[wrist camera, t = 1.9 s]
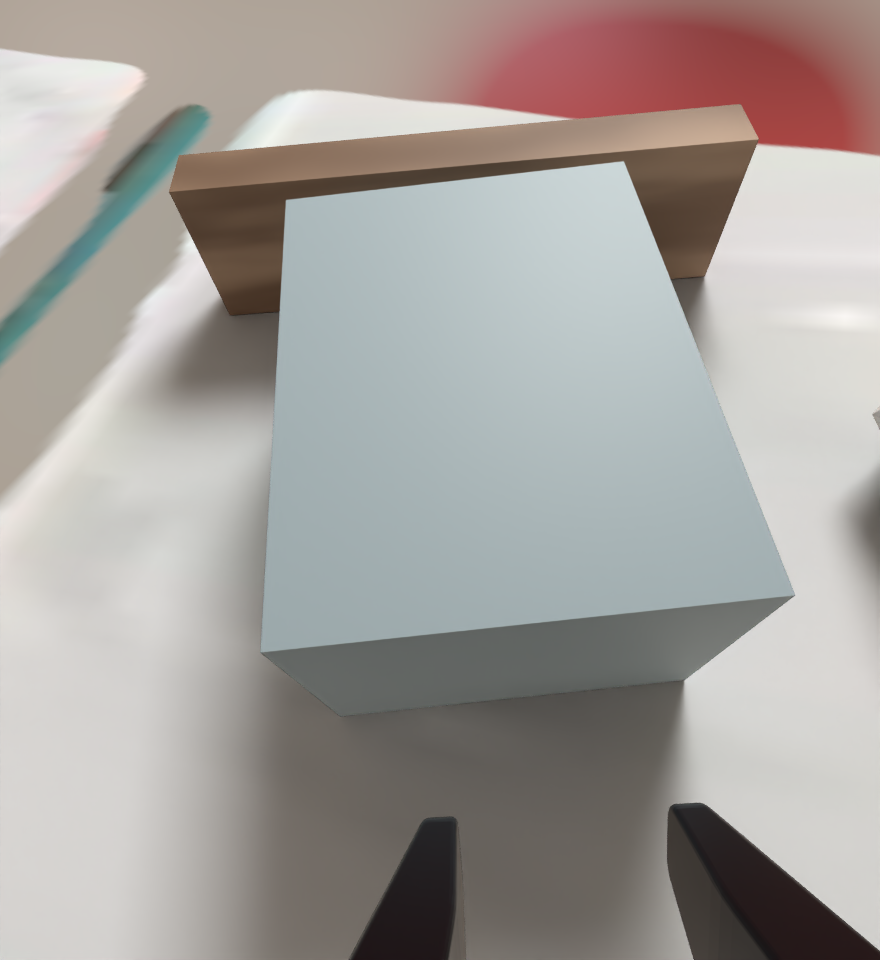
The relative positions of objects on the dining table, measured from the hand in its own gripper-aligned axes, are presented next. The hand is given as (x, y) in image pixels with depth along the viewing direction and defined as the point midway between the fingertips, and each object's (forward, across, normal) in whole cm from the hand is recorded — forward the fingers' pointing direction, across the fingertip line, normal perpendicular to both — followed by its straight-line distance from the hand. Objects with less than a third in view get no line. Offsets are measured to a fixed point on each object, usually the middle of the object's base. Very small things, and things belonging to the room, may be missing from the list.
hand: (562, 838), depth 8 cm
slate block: (+18, 0, +1) cm, 18 cm away
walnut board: (+27, 0, -8) cm, 28 cm away
